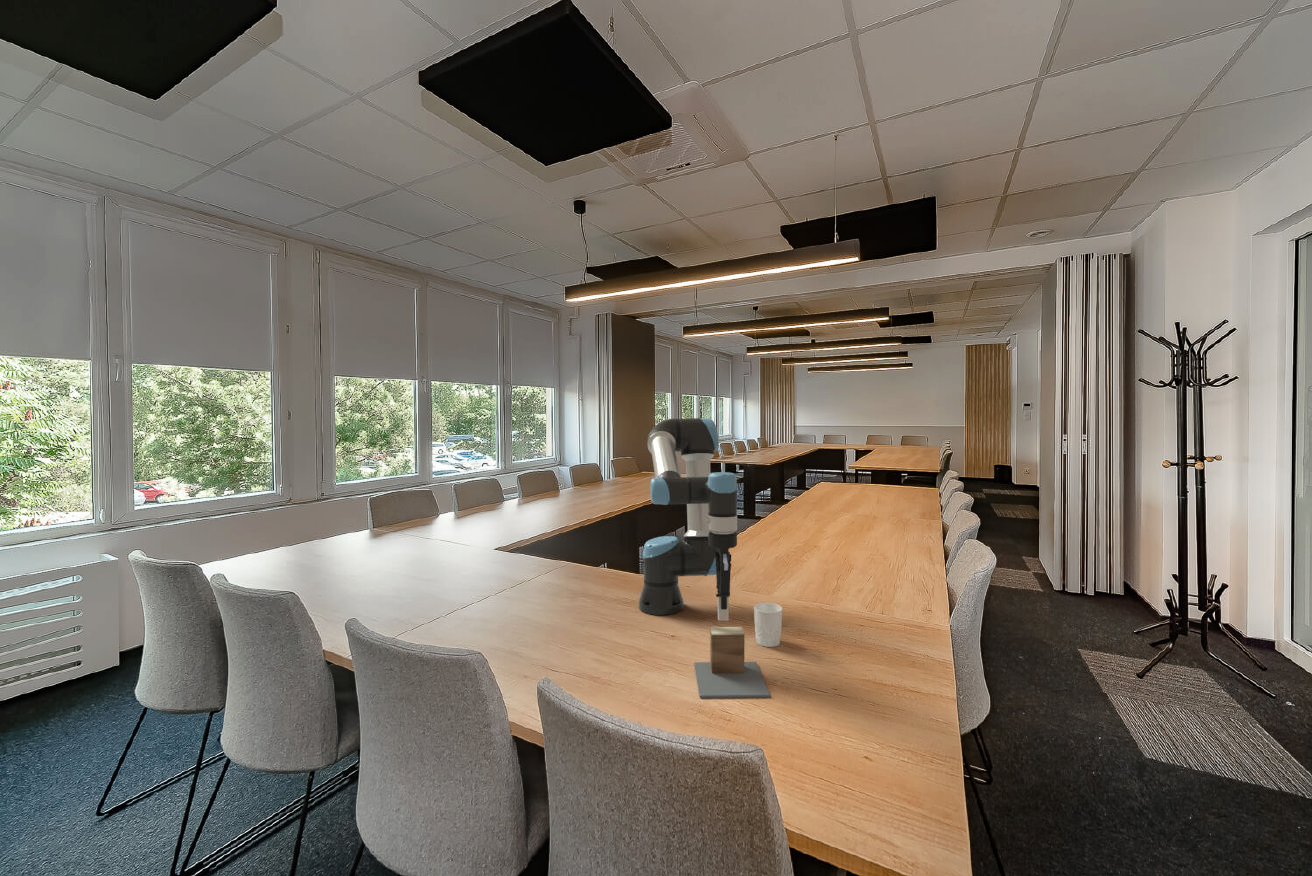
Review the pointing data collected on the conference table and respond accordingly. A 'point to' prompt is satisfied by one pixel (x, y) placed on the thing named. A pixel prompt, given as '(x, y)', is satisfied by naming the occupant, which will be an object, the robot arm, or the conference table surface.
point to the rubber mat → (730, 682)
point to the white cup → (768, 624)
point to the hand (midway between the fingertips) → (723, 619)
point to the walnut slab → (727, 649)
